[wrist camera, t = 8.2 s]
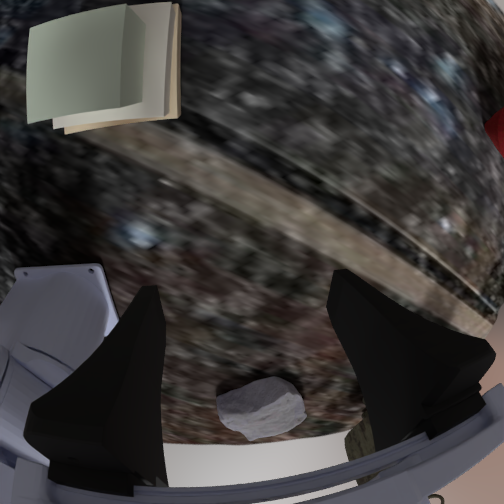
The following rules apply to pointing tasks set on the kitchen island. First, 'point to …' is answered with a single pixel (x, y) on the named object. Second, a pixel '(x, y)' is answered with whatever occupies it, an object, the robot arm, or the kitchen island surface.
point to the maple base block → (174, 86)
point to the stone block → (262, 408)
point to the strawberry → (496, 130)
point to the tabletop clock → (365, 447)
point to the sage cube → (85, 63)
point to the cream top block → (154, 71)
